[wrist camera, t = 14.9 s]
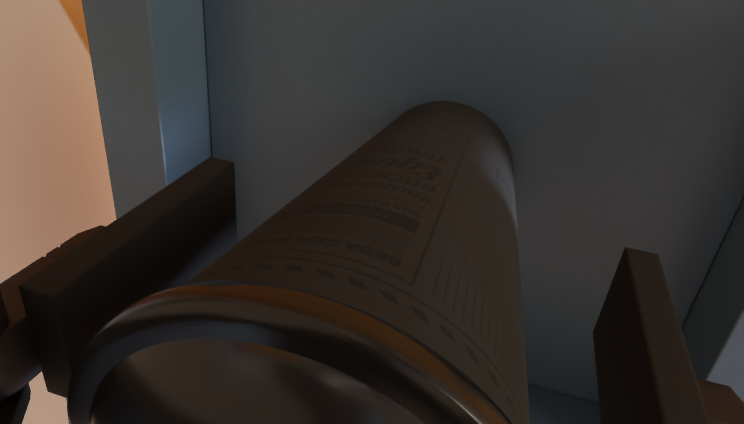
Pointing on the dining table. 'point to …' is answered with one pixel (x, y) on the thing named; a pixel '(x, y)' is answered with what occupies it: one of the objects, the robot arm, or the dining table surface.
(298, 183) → the sofa
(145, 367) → the drinking cup
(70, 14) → the dining table surface
